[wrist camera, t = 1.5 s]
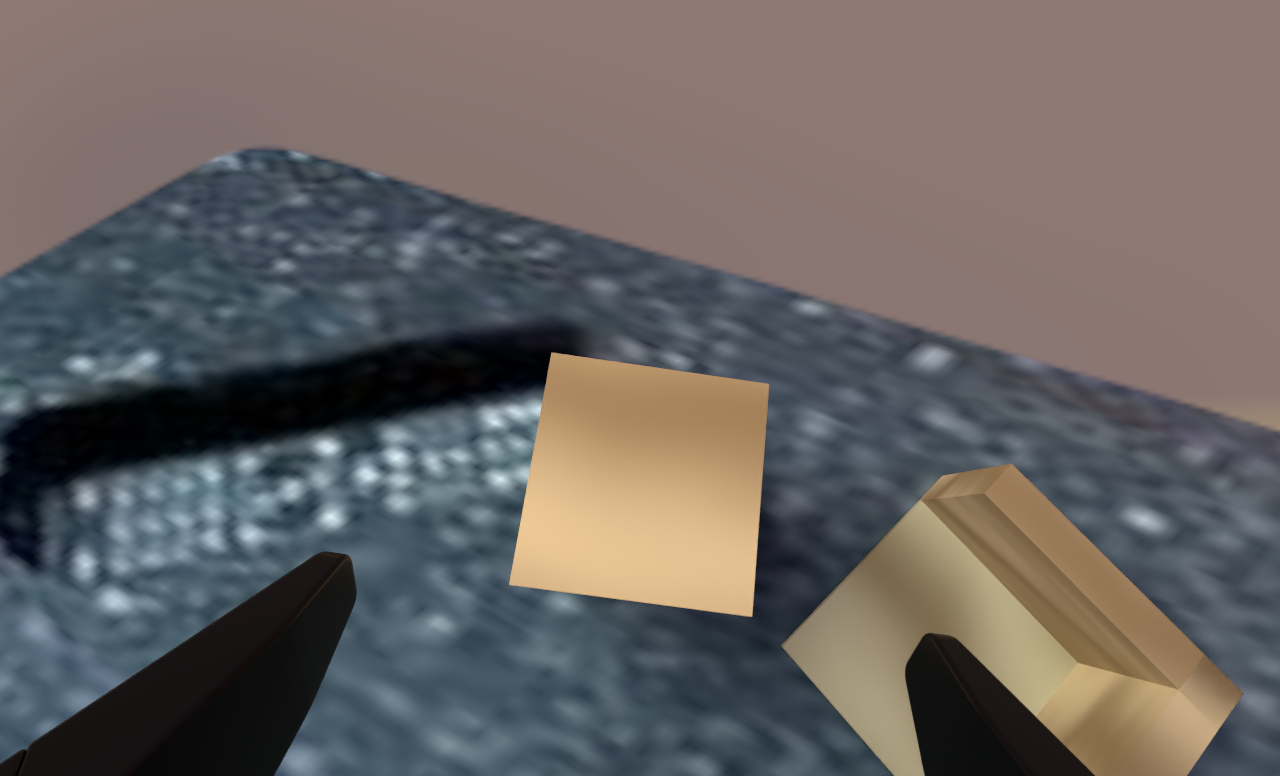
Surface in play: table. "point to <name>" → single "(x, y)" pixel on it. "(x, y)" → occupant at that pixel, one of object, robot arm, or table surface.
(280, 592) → the robot arm
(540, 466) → the maple block
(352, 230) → the table surface
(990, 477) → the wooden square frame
